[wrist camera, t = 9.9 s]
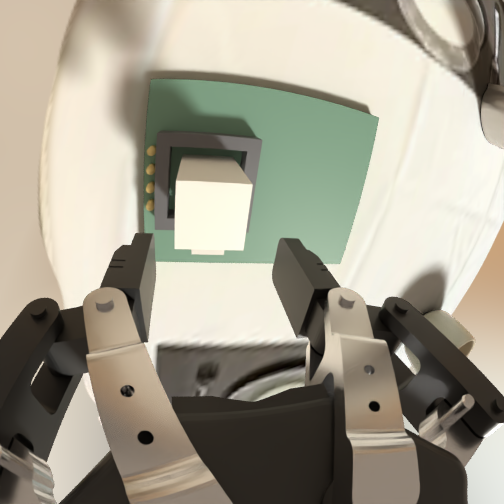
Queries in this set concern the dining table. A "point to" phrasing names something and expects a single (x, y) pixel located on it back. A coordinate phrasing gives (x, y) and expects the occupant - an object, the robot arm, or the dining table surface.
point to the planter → (446, 334)
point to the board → (259, 164)
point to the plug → (211, 204)
